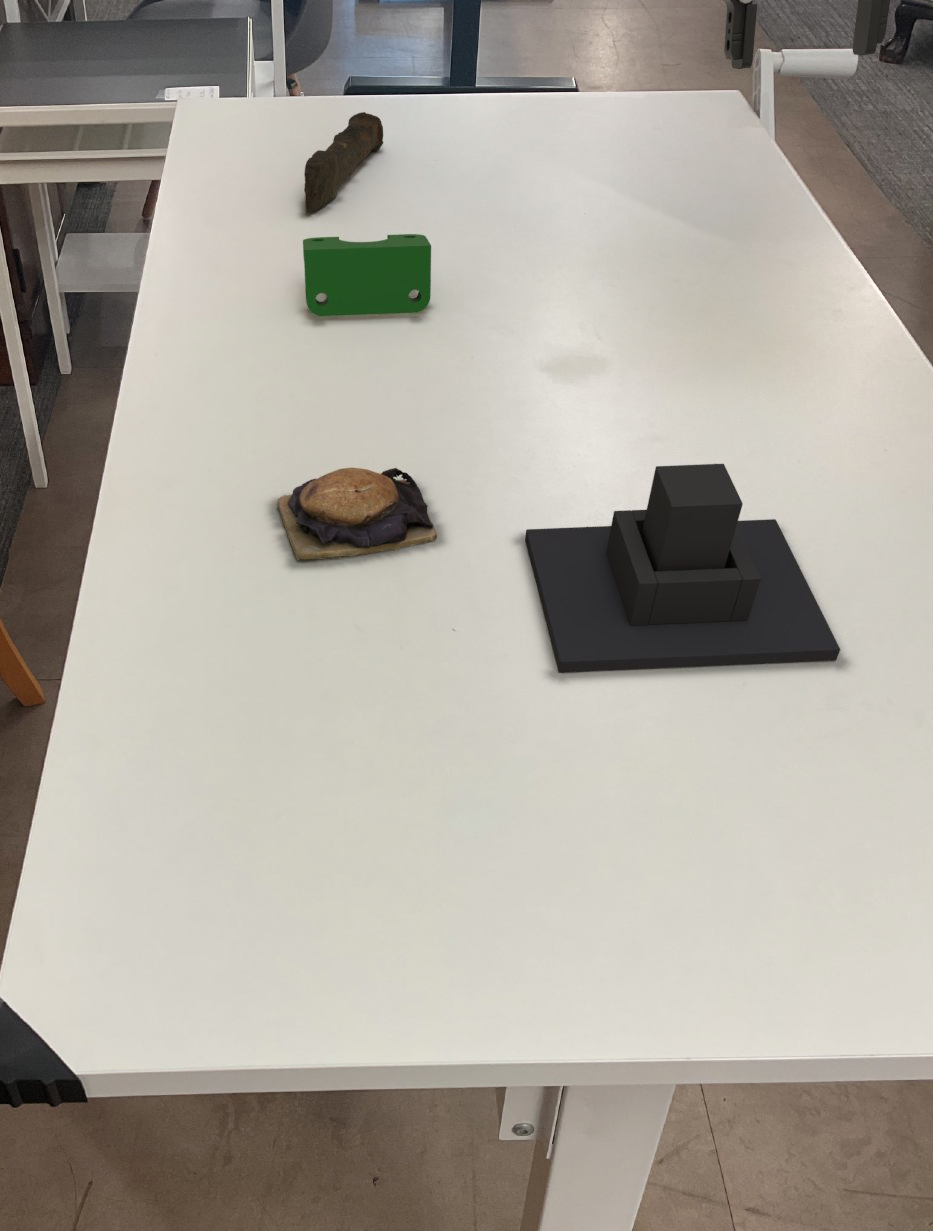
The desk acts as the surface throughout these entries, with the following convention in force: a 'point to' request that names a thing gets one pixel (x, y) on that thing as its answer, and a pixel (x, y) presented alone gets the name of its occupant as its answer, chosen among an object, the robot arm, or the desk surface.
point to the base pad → (673, 601)
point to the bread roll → (355, 514)
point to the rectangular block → (690, 517)
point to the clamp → (367, 275)
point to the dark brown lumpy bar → (340, 159)
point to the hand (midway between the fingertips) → (802, 61)
